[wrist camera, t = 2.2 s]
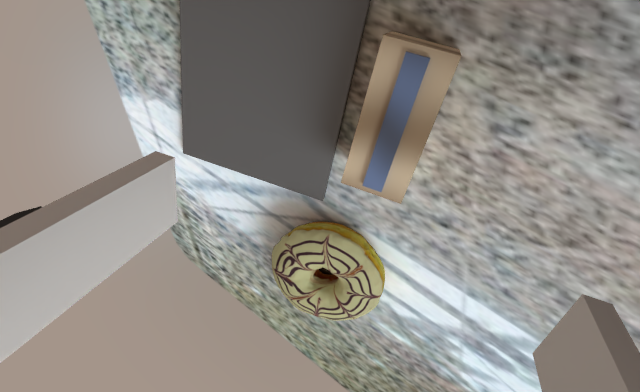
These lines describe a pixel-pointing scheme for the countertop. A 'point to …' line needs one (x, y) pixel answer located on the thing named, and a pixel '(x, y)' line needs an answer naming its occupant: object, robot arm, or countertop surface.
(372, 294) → the decorated donut
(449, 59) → the card box
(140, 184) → the robot arm
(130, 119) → the countertop surface
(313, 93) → the mat
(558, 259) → the countertop surface
